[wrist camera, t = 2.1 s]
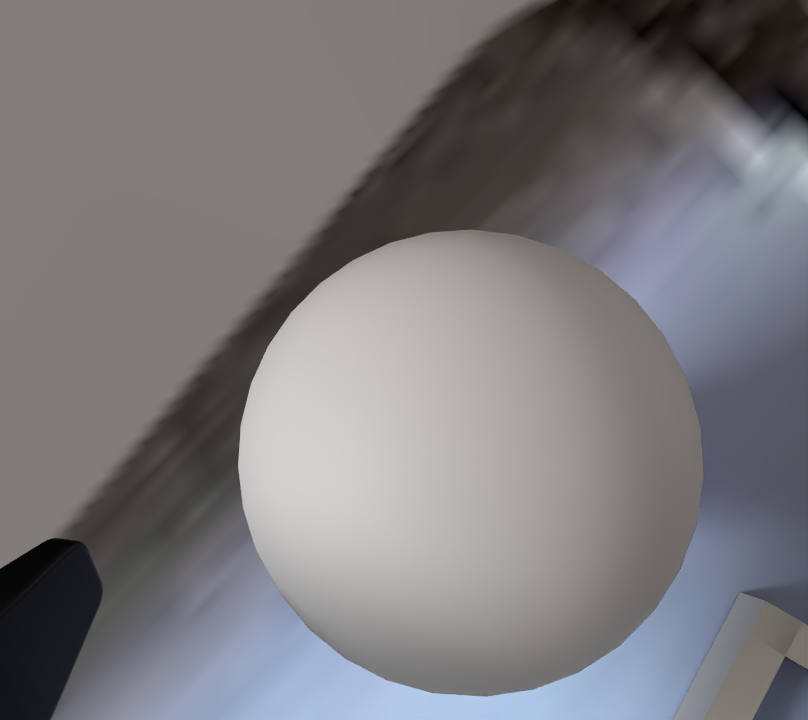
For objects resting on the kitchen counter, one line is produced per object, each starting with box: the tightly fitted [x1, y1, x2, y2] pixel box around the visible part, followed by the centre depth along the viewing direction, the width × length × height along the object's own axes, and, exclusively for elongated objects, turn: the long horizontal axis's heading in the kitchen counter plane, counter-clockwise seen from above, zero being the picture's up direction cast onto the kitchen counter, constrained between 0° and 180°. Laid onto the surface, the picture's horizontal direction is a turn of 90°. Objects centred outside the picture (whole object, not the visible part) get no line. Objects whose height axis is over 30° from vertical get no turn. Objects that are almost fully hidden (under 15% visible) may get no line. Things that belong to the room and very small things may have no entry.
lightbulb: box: [238, 230, 704, 696], centre depth 13 cm, size 6×6×11 cm
